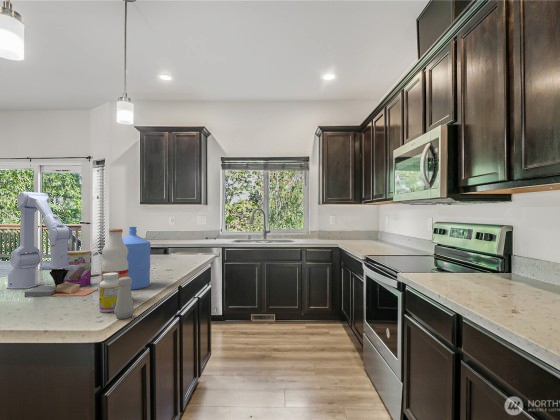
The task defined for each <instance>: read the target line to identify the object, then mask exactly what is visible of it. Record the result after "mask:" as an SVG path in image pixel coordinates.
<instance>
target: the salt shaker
mask: <svg viewBox="0 0 560 420" xmlns="http://www.w3.org/2000/svg"><path fill="white" fill-rule="evenodd" d="M130 284H132V278H131V277H122V278H119V279H118V285H119V286H120V287H119V292H118V297H117V301H116V306H115V310H114V314H115V316H116V318H117V319H118V320H119V319H120V320H124V319H125V320H126V319H129V318H132V316H133V313H134V310H135V307H134V302H133V296H132V295H133V294H132V290H131V288H130Z"/></svg>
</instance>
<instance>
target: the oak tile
mask: <svg viewBox="0 0 560 420" xmlns="http://www.w3.org/2000/svg"><path fill="white" fill-rule="evenodd" d="M80 288H81V287H80V285H79V284H74V283H68V282H65V283H62V284H59V285H57V289H56V291H58V292H64V293H70V294H71V293H73V292H76V291H78V290H79V289H80Z"/></svg>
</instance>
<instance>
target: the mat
mask: <svg viewBox="0 0 560 420" xmlns="http://www.w3.org/2000/svg"><path fill="white" fill-rule="evenodd" d="M98 290H99V288H79V290H78V291H76V292H73V293H71V294H70V293H64V292H59V293H56V294H54V295H52V296H51V297H86V296H87V295H90V294H92V293H94V292H96V291H98Z"/></svg>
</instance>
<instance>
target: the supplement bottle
mask: <svg viewBox="0 0 560 420" xmlns="http://www.w3.org/2000/svg"><path fill="white" fill-rule="evenodd" d="M117 277H118V273H105V274H103V279H104V281H102V282H101V281H100V283H99V296H98V297H99V302H98V303H99V304H98V305H99V306H98V310H99V312H101V313H113V312H114V310H115V306H116V301H117V297H118V292H119V287H120V286H119V285H118V280H117ZM114 313H115V312H114Z"/></svg>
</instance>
